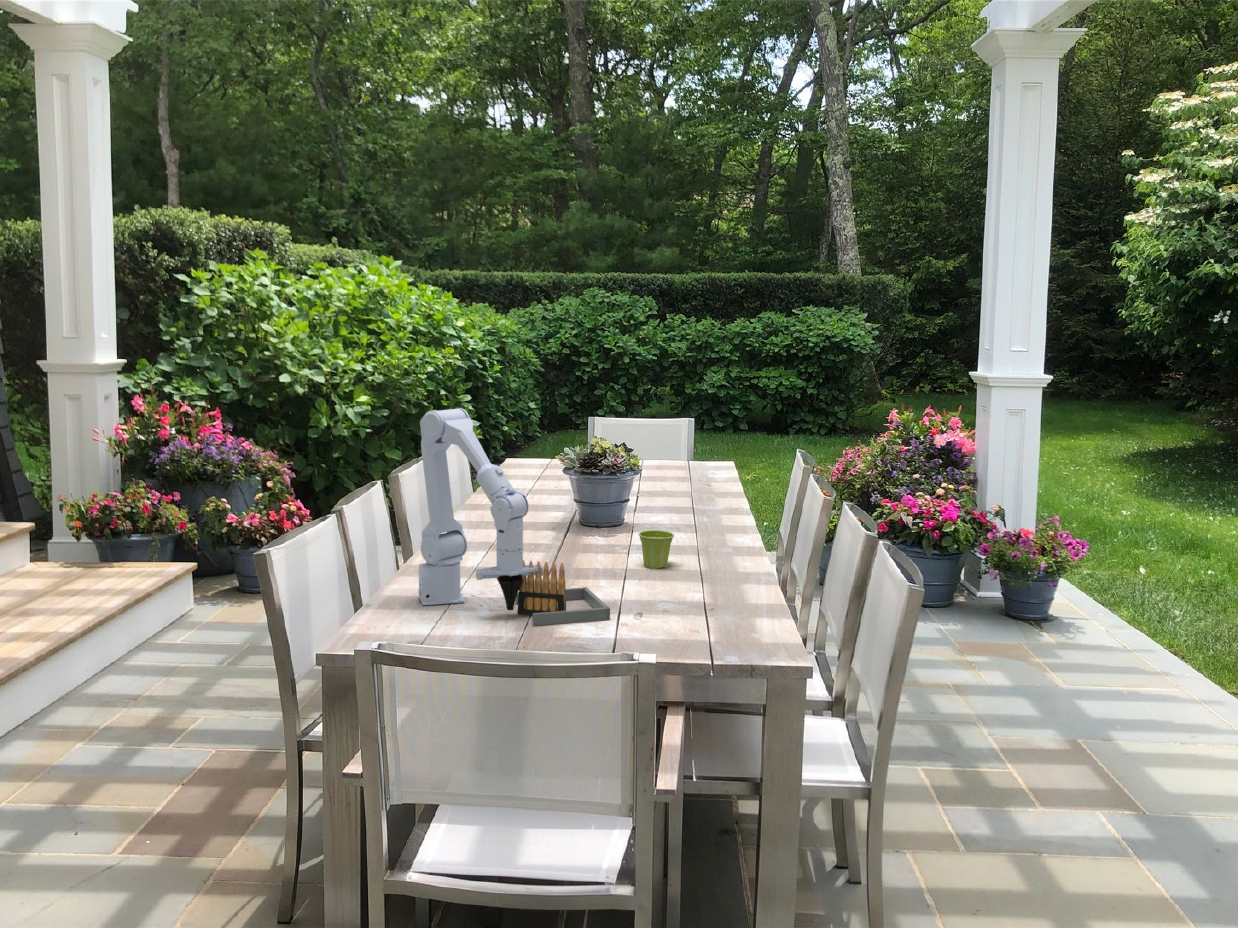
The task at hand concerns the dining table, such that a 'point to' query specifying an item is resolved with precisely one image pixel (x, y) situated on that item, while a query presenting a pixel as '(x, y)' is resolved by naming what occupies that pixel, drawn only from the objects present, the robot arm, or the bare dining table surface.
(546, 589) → the ammunition clip
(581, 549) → the dining table surface
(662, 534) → the plant pot
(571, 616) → the frame
